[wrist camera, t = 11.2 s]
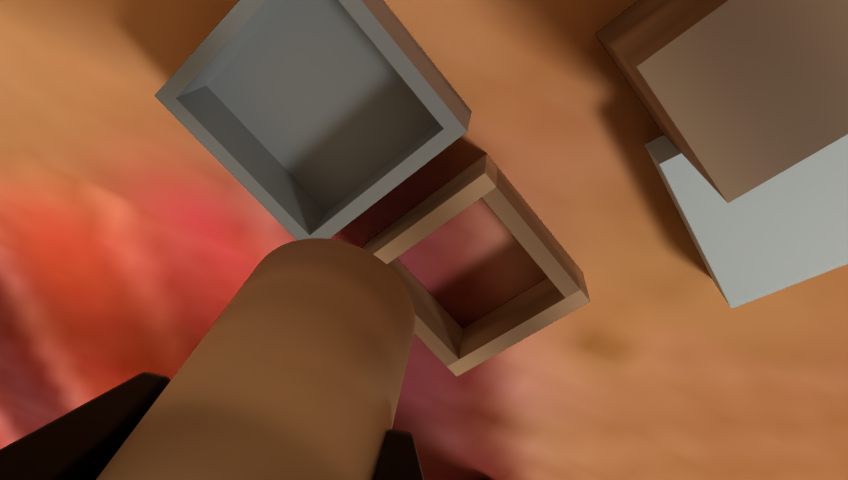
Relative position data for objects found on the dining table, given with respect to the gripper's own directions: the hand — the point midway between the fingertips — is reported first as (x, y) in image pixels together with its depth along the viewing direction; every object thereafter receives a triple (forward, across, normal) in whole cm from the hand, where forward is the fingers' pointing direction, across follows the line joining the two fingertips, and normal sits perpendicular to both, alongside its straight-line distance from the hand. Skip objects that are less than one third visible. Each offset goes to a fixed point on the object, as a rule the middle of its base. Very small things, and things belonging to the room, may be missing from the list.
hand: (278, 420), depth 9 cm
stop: (+12, -8, -6) cm, 16 cm away
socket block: (+12, -3, +3) cm, 13 cm away
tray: (+12, +3, -2) cm, 13 cm away
